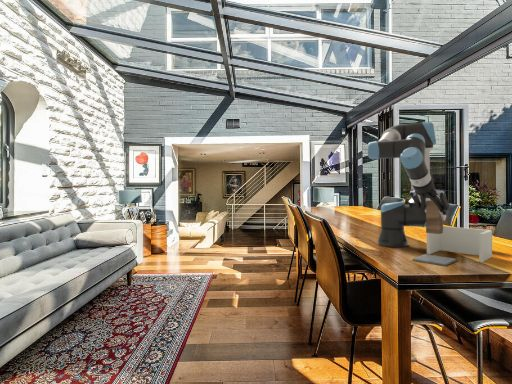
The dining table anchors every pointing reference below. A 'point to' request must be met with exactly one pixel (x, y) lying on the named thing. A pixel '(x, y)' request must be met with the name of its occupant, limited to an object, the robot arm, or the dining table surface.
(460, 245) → the cubby
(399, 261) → the dining table surface
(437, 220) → the walnut block
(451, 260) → the coaster
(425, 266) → the dining table surface
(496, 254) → the dining table surface
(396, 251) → the dining table surface
